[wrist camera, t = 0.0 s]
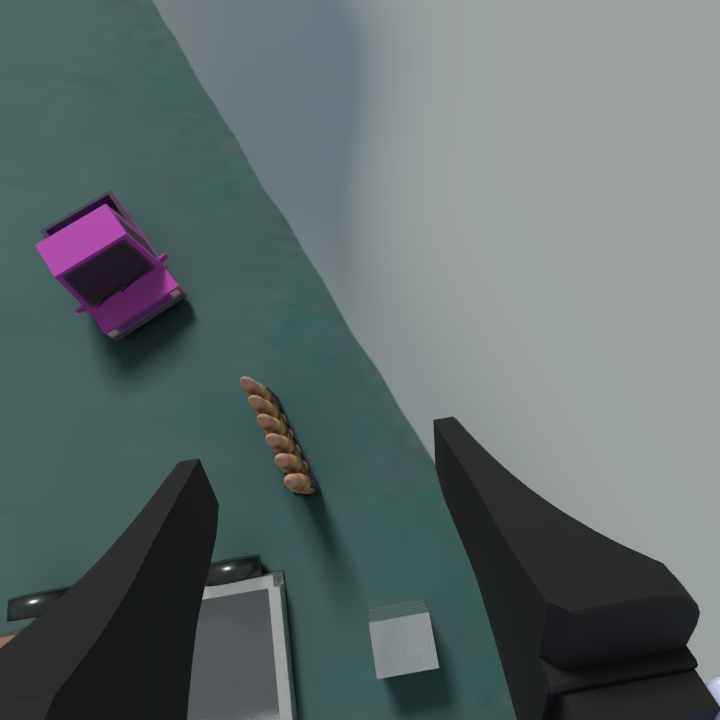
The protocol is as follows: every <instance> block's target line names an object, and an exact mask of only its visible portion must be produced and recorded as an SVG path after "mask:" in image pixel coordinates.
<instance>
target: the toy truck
mask: <svg viewBox="0 0 720 720" xmlns="http://www.w3.org/2000/svg"><path fill="white" fill-rule="evenodd" d="M41 233H42V235H43V236H44V238H45V240H43V241H41V242H40V243H38V244H36V247H37V249H38V250H39V252H40V254H41V255H42V257H43V259H44V260H45V262H46V264H47V265H48V267H49V268H50V270H51V272H52V273H53V275H54V277H55V278H56V279H57V280H58V281H59V282H60V283H61V284H62V285H63V286H64V287H65V288H66V289H67V290H68V291H69V292H70V293H71V294H72V295H73V296H74V297H75V298H76V299H77V300H78V301H79V302H80V303H81V304H82V305H83V306H80V307H78V308H76V309H75V311H76V312H78V313H81V312H83V311H86V310H88V311H89V312H90V313H91V314H92V315H93V317H94V318H95V320H96V322H97V323H98V325H99V327H100V328H101V330H102V331H103V333H104V334H105V335H107V336H108V337H110V338H112V339H113V340H115V341H116V342H117V341H119V340H120V339H122V338H123V337H125V336H126V335H128V334H129V333H131V332H132V331H134V330H135V329H137V328H139V327H140V326H142V325H143V324H145V323H146V322H148V321H149V320H151V319H152V318H154V317H156V316H157V315H159V314H160V313H162V312H163V311H165V310H166V309H168V308H169V307H171V306H172V305H174V304H176V303H177V302H179V301H180V300H182V299H183V298H185V297H186V296H187V295H186V294H185V292H184V291H183V290H182V288H181V287H180V286H179V285H178V283H177V282H176V281H175V279H174V278H173V277H172V275H171V274H170V273H169V271H168V270H167V269H168V268H167V267H166V265H165V264H164V263H163V262H164V261H165V260H166V259H167V258H168V256H167V255H166V254H165V253H164V254H162V255H161V256H160V257H159V256H158V254H157V253H156V251H155V250H154V248H153V247H152V246H151V244H150V243H149V241H148V240H147V238H146V237H145V236H144V234H143V233H142V232H141V230H140V229H139V228H138V227H137V225H136V224H135V223H134V221H133V220H132V219H131V217H130V214H129V213H128V211H127V210H126V209H125V207H124V206H123V204H122V203H121V202H120V201H119V199H118V198H117V197H116V196H115V195H114V193H113V192H112V191H111V190H109V191H108V192H106V193H104V194H102V195H101V196H99V197H97V198H96V199H94V200H92V201H90V202H89V203H87V204H85V205H84V206H82V207H80V208H78V209H77V210H75V211H73V212H72V213H70V214H68V215H66V216H65V217H63V218H61V219H60V220H58V221H56V222H55V223H53V224H51V225H49V226H48V227H46V228H44V229H43V230H41Z"/></svg>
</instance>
